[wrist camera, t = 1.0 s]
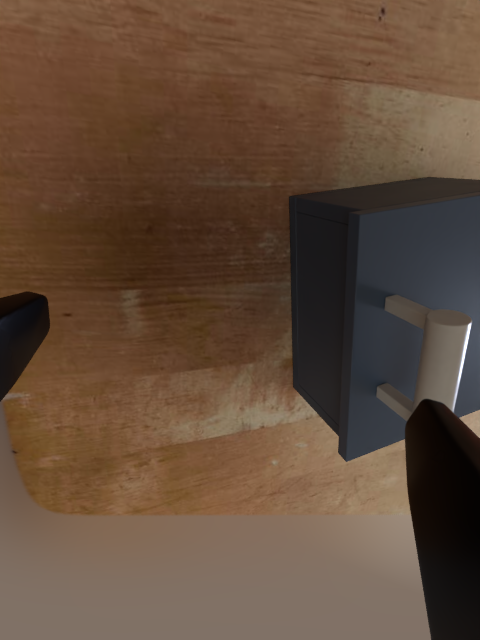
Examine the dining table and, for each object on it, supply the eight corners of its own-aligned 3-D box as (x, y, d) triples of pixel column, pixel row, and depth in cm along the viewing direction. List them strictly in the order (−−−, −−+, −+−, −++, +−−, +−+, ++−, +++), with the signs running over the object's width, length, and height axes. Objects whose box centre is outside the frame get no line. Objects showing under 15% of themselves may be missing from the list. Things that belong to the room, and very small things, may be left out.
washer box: (292, 387, 28) (348, 447, 22) (288, 196, 22) (363, 209, 16) (407, 352, 31) (482, 397, 25) (429, 177, 25) (533, 182, 19)
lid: (337, 452, 22) (397, 521, 18) (348, 212, 16) (440, 231, 12) (482, 397, 25) (561, 444, 21) (534, 182, 19) (656, 189, 15)
